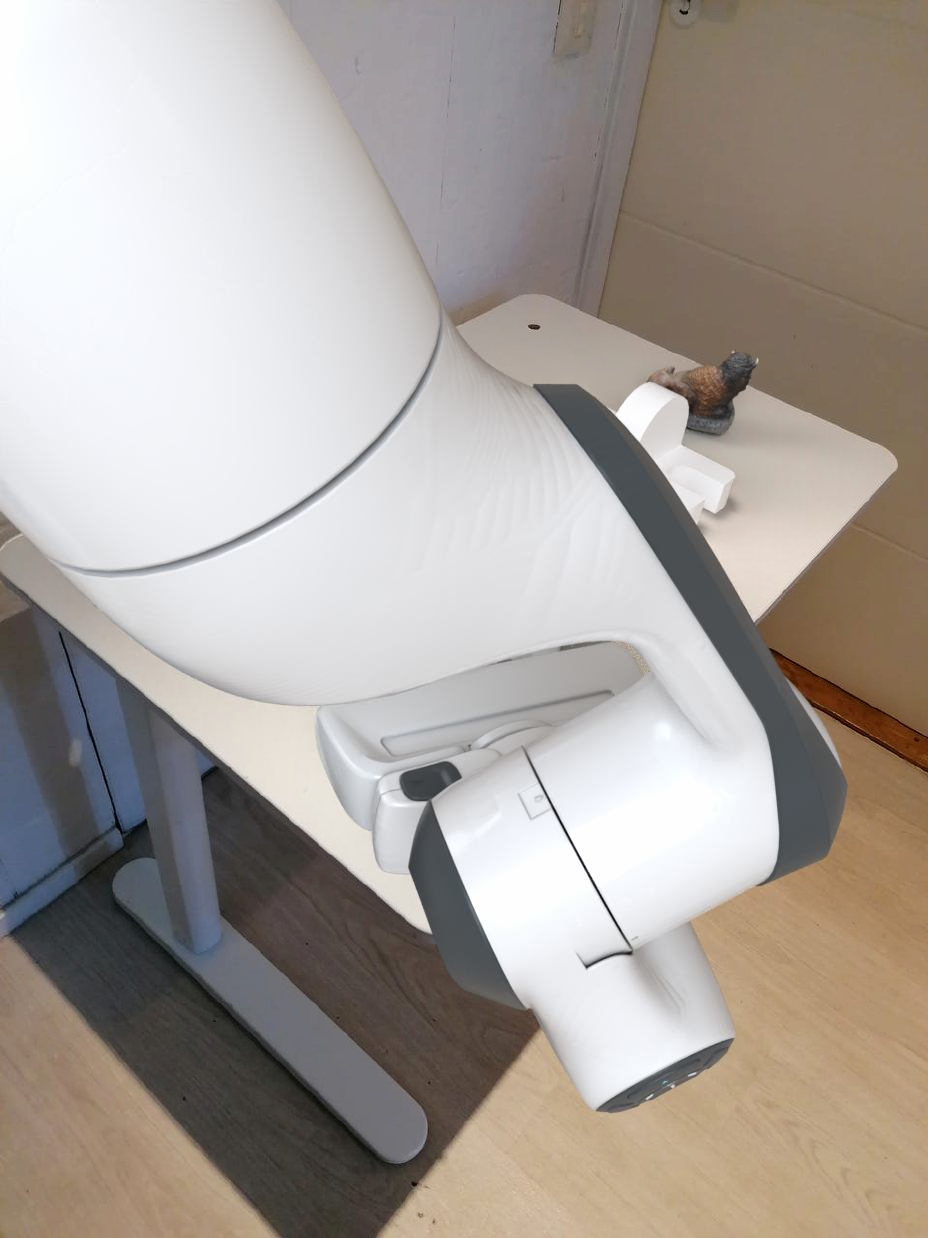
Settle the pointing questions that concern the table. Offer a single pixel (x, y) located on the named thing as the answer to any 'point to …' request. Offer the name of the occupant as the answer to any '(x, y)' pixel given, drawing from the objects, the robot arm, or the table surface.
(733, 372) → the bison figurine
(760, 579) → the table surface
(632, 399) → the tape dispenser
